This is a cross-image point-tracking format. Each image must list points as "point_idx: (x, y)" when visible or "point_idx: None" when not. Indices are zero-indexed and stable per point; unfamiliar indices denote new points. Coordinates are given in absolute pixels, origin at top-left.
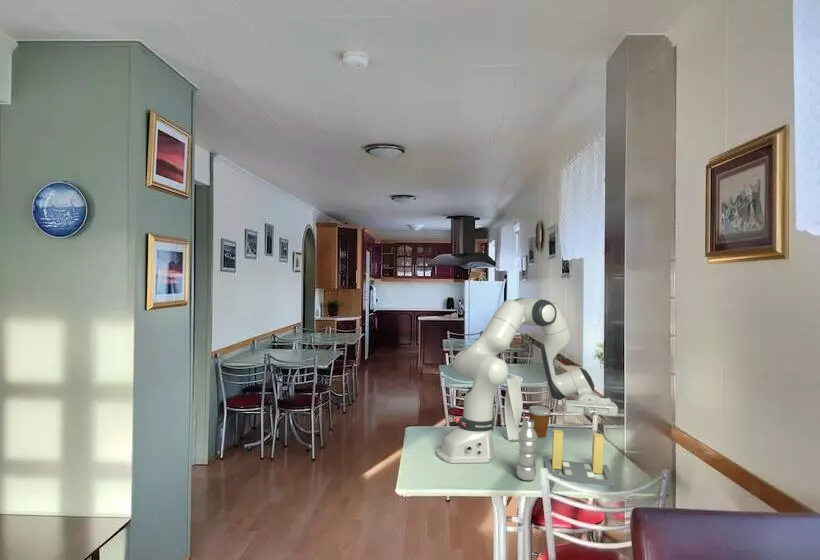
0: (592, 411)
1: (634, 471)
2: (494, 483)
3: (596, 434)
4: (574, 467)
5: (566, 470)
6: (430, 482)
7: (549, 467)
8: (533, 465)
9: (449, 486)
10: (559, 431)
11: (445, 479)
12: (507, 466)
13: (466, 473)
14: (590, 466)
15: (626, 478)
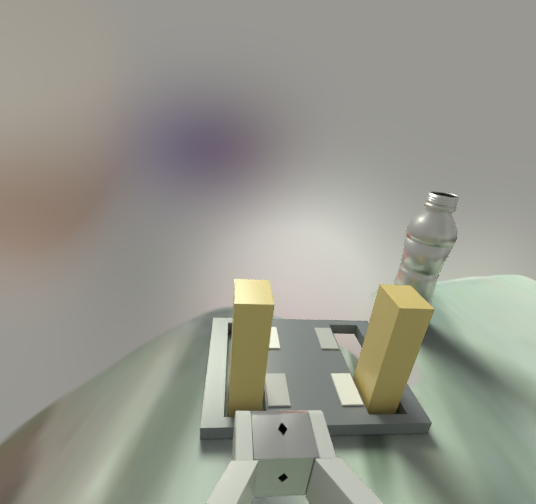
0: (286, 412)
1: (80, 451)
2: (437, 298)
3: (260, 296)
4: (316, 373)
5: (332, 344)
6: (514, 287)
7: None
8: (393, 283)
9: (480, 282)
10: (401, 296)
11: (510, 296)
12: (488, 370)
13: (512, 319)
14: (266, 388)
15: (157, 375)
